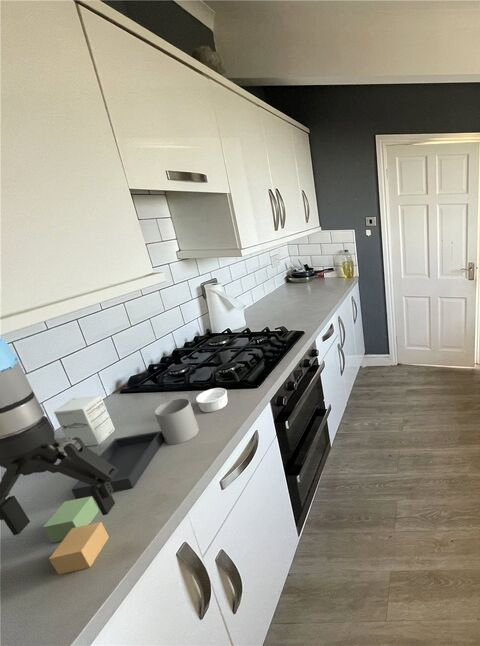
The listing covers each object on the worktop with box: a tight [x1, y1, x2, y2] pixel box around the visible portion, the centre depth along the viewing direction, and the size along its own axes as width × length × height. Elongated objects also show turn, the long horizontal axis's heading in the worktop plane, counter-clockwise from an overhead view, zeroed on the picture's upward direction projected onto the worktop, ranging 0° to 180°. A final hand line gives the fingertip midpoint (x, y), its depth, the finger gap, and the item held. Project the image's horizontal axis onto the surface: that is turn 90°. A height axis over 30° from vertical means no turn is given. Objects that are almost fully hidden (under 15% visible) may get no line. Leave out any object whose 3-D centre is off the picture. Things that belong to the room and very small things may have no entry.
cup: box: [153, 398, 200, 445], centre depth 102 cm, size 8×8×10 cm
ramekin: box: [195, 387, 229, 413], centre depth 116 cm, size 9×9×4 cm
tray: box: [70, 430, 165, 499], centre depth 91 cm, size 12×19×3 cm, turn 16°
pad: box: [42, 496, 100, 543], centre depth 75 cm, size 5×6×4 cm
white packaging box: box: [53, 395, 116, 447], centre depth 100 cm, size 7×7×13 cm
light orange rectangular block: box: [48, 521, 110, 575], centre depth 68 cm, size 5×6×4 cm
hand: (66, 518), depth 66 cm, fingers open, 13 cm apart
